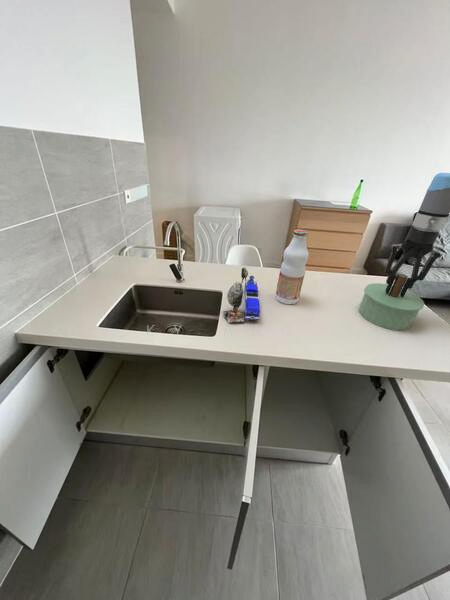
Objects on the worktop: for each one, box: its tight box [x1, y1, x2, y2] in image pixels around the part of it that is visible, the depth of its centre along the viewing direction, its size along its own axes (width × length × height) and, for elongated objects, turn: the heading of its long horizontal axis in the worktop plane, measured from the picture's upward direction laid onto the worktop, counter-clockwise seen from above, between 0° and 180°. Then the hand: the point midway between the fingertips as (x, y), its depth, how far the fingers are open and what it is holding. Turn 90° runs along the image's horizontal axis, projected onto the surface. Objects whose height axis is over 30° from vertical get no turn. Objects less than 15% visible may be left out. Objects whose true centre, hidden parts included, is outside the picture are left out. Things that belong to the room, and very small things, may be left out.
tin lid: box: [363, 273, 425, 311], centre depth 86 cm, size 19×19×9 cm
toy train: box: [244, 275, 261, 321], centre depth 93 cm, size 5×25×8 cm, turn 177°
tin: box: [358, 292, 420, 331], centre depth 91 cm, size 18×18×8 cm
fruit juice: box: [275, 229, 310, 305], centre depth 93 cm, size 9×9×28 cm
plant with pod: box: [222, 267, 249, 324], centre depth 83 cm, size 8×11×20 cm
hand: (394, 293), depth 88 cm, fingers open, 4 cm apart
